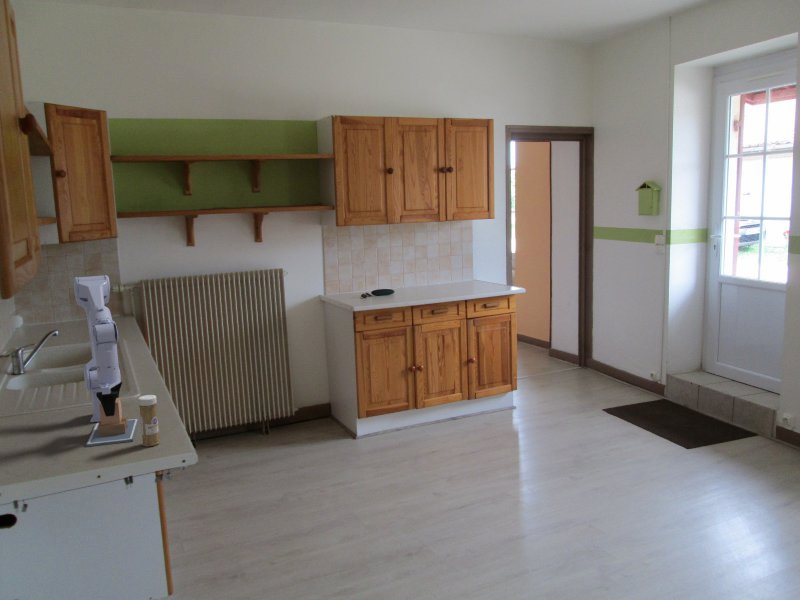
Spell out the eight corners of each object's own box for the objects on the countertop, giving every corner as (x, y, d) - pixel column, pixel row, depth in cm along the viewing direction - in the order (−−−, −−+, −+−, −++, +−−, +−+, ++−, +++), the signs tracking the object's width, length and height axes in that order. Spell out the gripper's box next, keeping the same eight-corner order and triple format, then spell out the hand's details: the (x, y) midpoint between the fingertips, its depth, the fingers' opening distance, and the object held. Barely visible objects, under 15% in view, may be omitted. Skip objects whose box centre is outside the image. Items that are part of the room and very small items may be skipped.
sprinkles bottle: (154, 447, 178) (150, 399, 175) (139, 446, 178) (134, 399, 176) (163, 441, 182) (159, 394, 180) (147, 440, 183) (143, 394, 181)
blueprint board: (95, 425, 196) (95, 423, 196) (138, 420, 200) (138, 418, 199) (85, 446, 179) (85, 444, 179) (133, 441, 182) (132, 438, 182)
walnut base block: (102, 428, 192) (101, 418, 191) (128, 425, 194) (127, 415, 193) (98, 436, 185) (97, 426, 184) (125, 433, 187) (124, 423, 186)
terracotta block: (103, 419, 190) (101, 399, 189) (122, 417, 192) (120, 397, 191) (101, 425, 186) (99, 404, 185) (120, 422, 187) (118, 402, 186)
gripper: (96, 361, 192) (100, 405, 194) (88, 373, 178) (92, 421, 180) (122, 358, 194) (126, 403, 196) (116, 370, 180) (120, 418, 182)
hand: (111, 411), depth 188 cm, fingers open, 7 cm apart
